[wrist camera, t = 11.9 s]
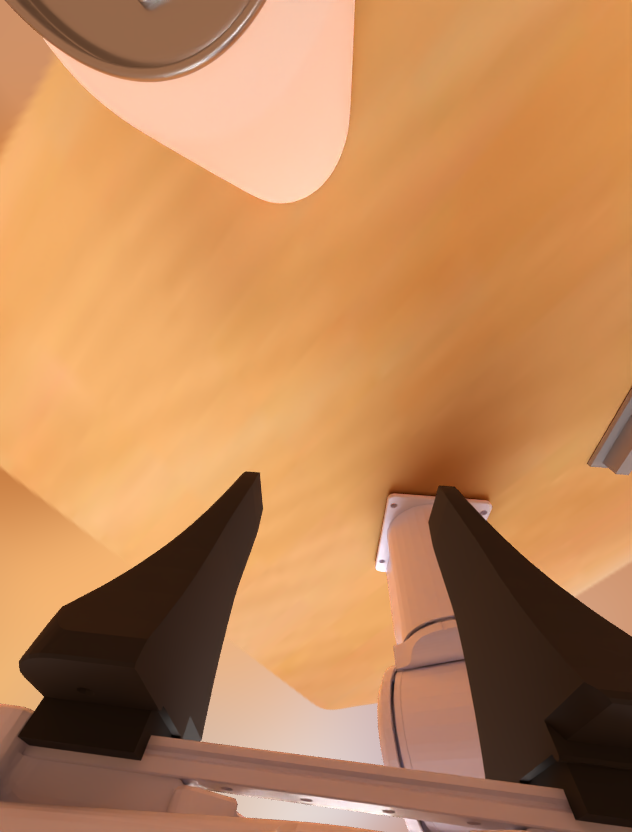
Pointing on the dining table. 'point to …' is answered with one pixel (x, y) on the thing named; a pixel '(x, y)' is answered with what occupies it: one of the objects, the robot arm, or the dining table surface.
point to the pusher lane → (616, 442)
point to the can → (218, 79)
